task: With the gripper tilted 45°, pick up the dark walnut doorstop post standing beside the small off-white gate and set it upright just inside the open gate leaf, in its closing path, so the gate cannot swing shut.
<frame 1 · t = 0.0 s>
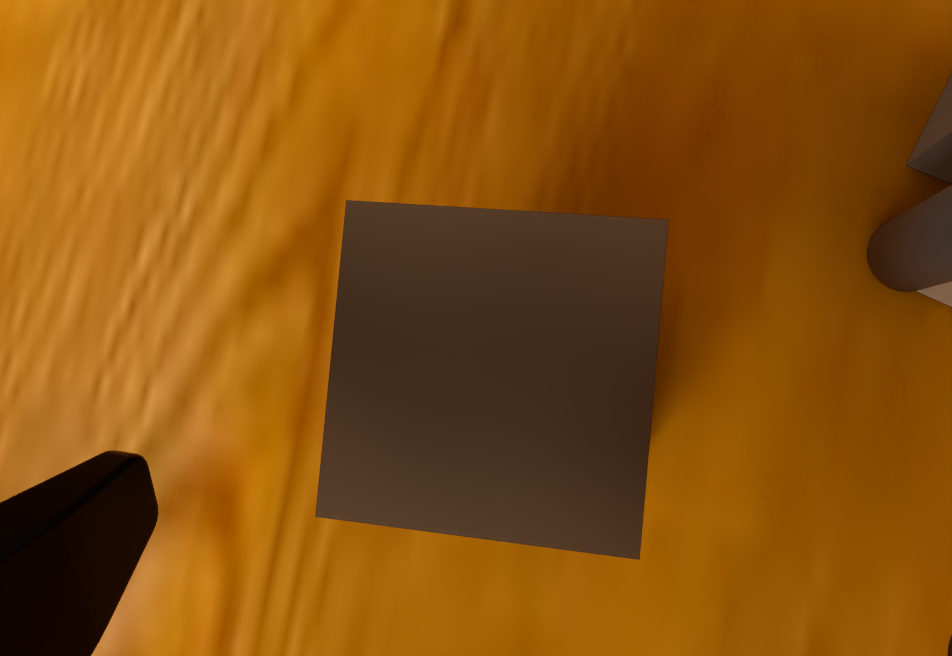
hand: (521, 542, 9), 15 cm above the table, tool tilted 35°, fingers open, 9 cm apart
gate frame: (905, 255, 23), on the table
doorstop post: (563, 370, 24), on the table
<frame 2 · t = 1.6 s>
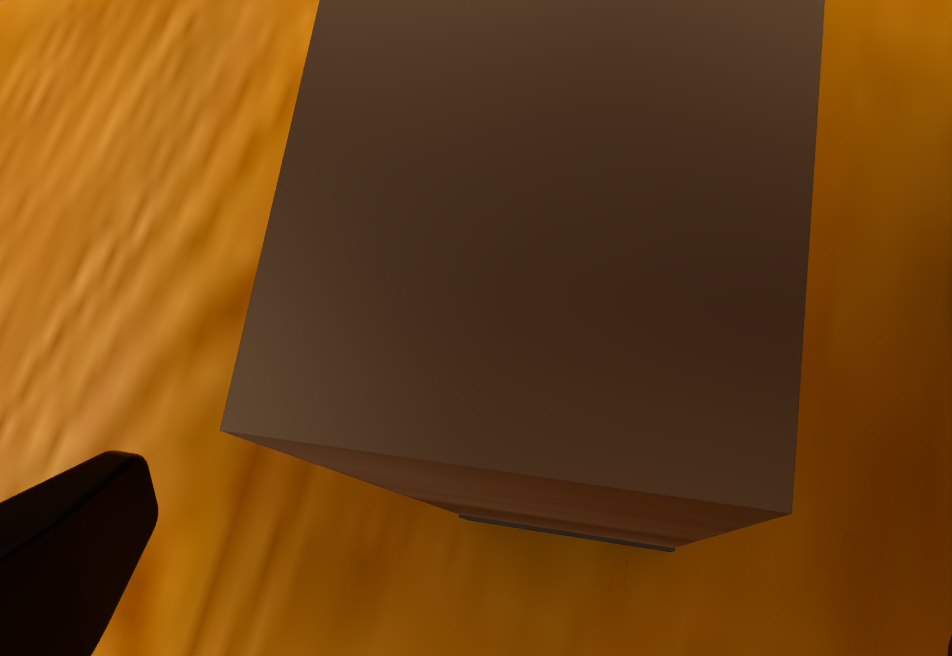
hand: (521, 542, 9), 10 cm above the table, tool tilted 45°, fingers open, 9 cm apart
doorstop post: (579, 435, 19), on the table
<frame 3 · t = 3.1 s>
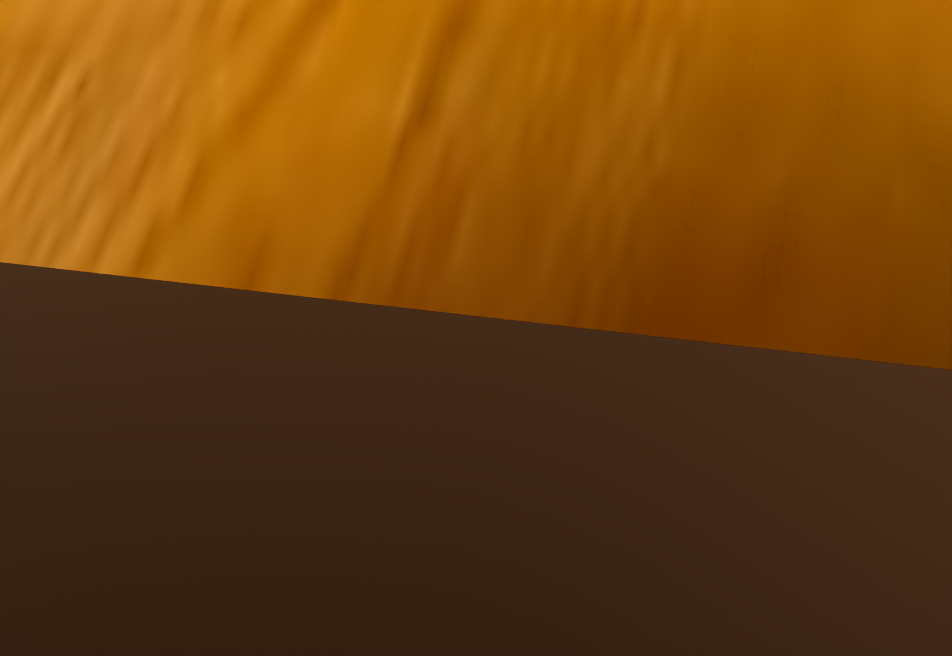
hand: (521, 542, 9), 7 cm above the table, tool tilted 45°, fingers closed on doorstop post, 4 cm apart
doorstop post: (546, 626, 15), on the table, touching gripper
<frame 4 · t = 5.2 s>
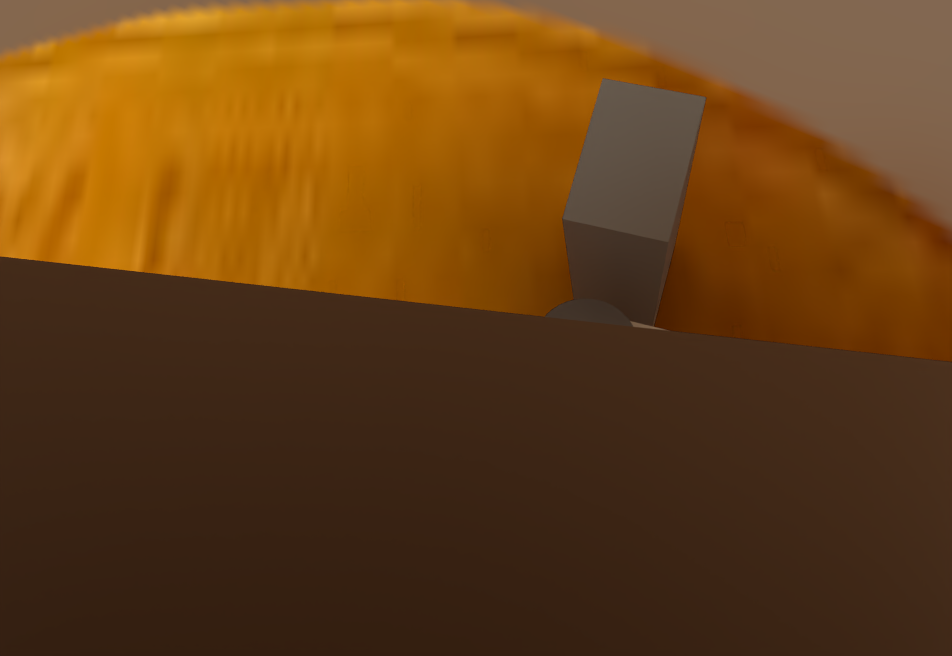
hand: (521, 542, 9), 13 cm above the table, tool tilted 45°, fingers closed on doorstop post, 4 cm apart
gate frame: (592, 412, 23), on the table
gate leaf: (804, 442, 18), point 4 cm above the table, hinge at 90.0°
doorstop post: (545, 624, 15), point 7 cm above the table, touching gripper
when the fingers open (8 cm above the table, at t = 7.3 s): doorstop post drops 1 cm, on the table.
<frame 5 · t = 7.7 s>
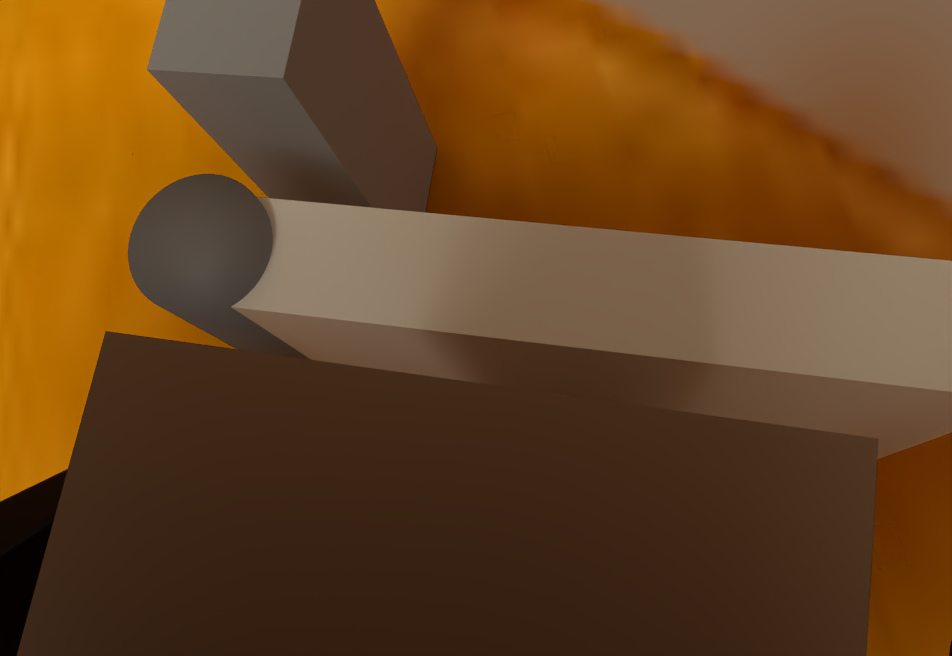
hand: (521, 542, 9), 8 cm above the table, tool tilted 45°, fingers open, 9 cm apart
gate frame: (353, 360, 19), on the table
gate leaf: (559, 345, 14), point 4 cm above the table, hinge at 90.0°
doorstop post: (551, 618, 17), on the table
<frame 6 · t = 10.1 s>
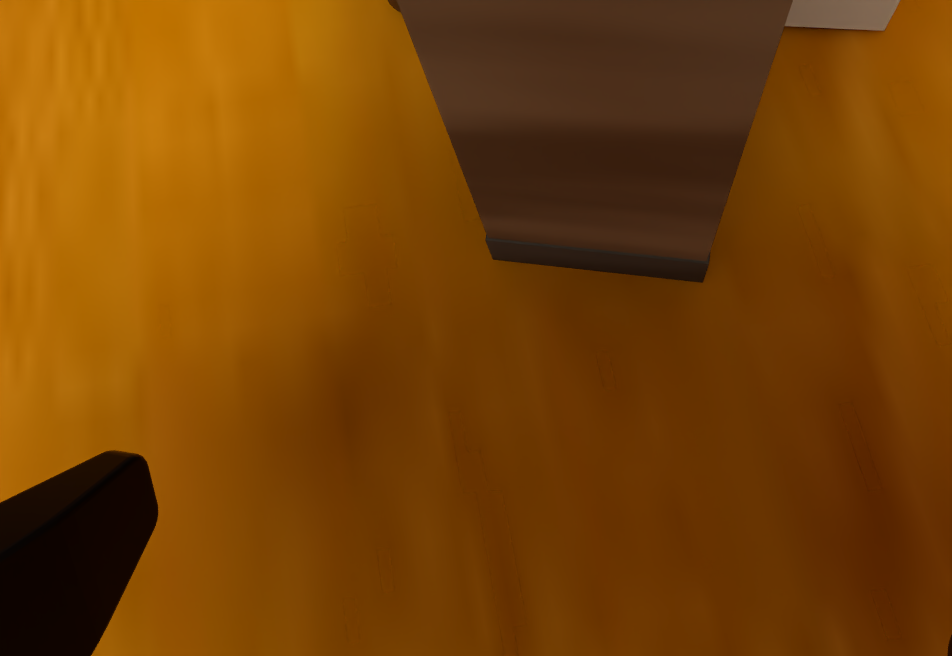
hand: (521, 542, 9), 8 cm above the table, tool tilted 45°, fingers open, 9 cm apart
doorstop post: (608, 174, 19), on the table
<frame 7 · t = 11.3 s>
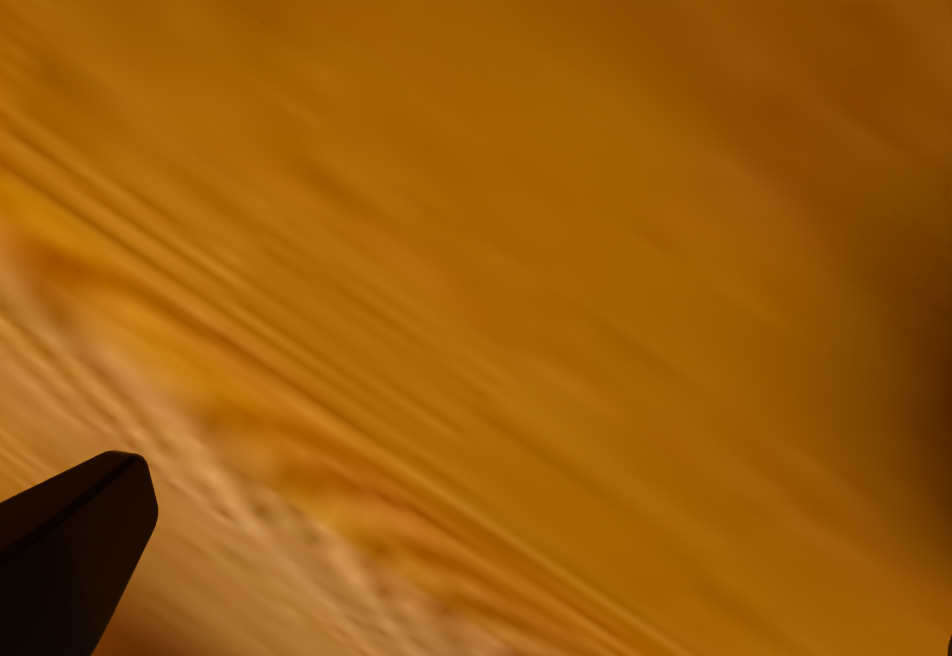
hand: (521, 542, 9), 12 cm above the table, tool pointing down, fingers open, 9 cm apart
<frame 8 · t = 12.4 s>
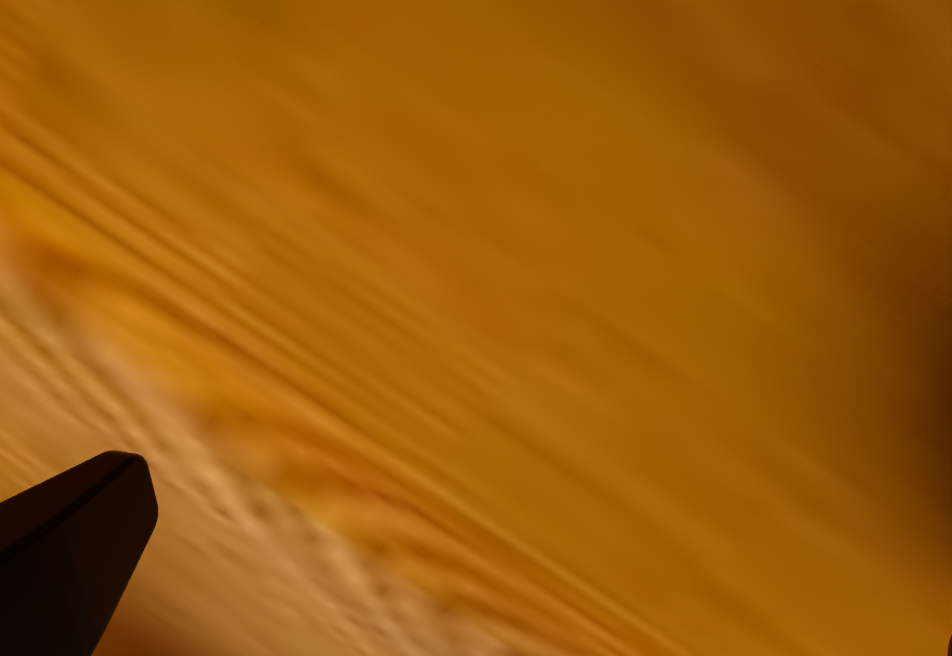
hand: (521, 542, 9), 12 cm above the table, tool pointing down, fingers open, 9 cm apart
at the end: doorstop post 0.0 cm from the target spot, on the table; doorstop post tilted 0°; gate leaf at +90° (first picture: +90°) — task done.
